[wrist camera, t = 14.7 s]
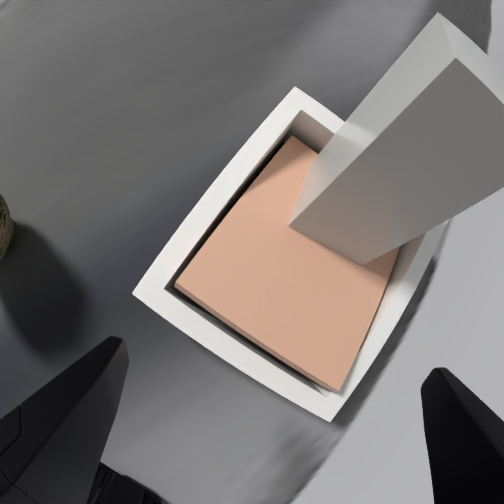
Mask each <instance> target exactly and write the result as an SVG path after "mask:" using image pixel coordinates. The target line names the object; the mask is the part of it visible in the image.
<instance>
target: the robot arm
mask: <svg viewBox="0 0 504 504" xmlns="http://www.w3.org/2000/svg"><path fill="white" fill-rule="evenodd" d="M128 364H129V357H128V352H127V346H126V341H125V339H123V338H120V337H115V336H110V337H108V338H107V339H105V340H104V341H103V342H101V343H100V344H99V345H97V346H96V347H95V348H93V349H92V350H91V351H89V352H88V353H87V354H85V355H84V356H83V357H81V358H80V359H79V360H77V361H76V362H75V363H73V364H72V365H71V366H69V367H68V368H67V369H65V370H64V371H63V372H61V373H60V374H59V375H57V376H56V377H55V378H54V379H52V380H51V381H50V382H48V383H47V384H46V385H44V386H43V387H42V388H40V389H39V390H38V391H37V392H35V393H34V394H33V395H31V396H30V397H29V398H27V399H26V400H25V401H24V402H22V403H21V406H20V405H18V406H17V407H16V408H14V409H13V410H12V411H10V412H9V413H8V414H6V415H5V416H4V417H2V418H1V419H0V504H162V500H161V499H160V498H159V497H157V496H155V495H153V494H151V493H149V492H148V491H146V490H144V489H142V488H140V487H139V486H137V485H135V484H133V483H132V482H130V481H128V480H127V479H125V478H123V477H122V476H120V475H118V474H117V473H115V472H114V471H112V470H110V469H109V468H107V467H106V466H104V465H103V464H101V463H100V459H101V456H102V453H103V450H104V447H105V445H106V442H107V439H108V436H109V433H110V430H111V428H112V425H113V422H114V419H115V416H116V413H117V410H118V406H119V402H120V397H121V393H122V389H123V385H124V381H125V377H126V373H127V369H128ZM421 398H422V408H423V419H424V431H425V438H426V444H427V450H428V456H429V463H430V470H431V477H432V486H433V495H434V504H504V422H503V420H501V418H500V417H498V416H497V415H496V414H495V413H494V412H493V411H492V410H491V409H490V408H489V407H488V406H487V405H486V404H485V403H484V402H483V401H482V400H480V399H479V398H478V397H477V396H476V395H475V394H474V393H473V392H472V391H471V390H469V388H468V387H466V386H465V385H464V384H463V383H462V382H461V381H460V380H459V379H458V378H457V377H455V376H454V375H453V374H452V373H451V372H450V371H449V370H448V369H447V368H444V367H443V368H442V367H441V368H434V369H433V370H432V371H431V373H430V374H429V376H428V377H427V379H426V380H425V381H424V382H423V384H422V387H421ZM154 501H156V502H157V503H156V502H154Z"/></svg>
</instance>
